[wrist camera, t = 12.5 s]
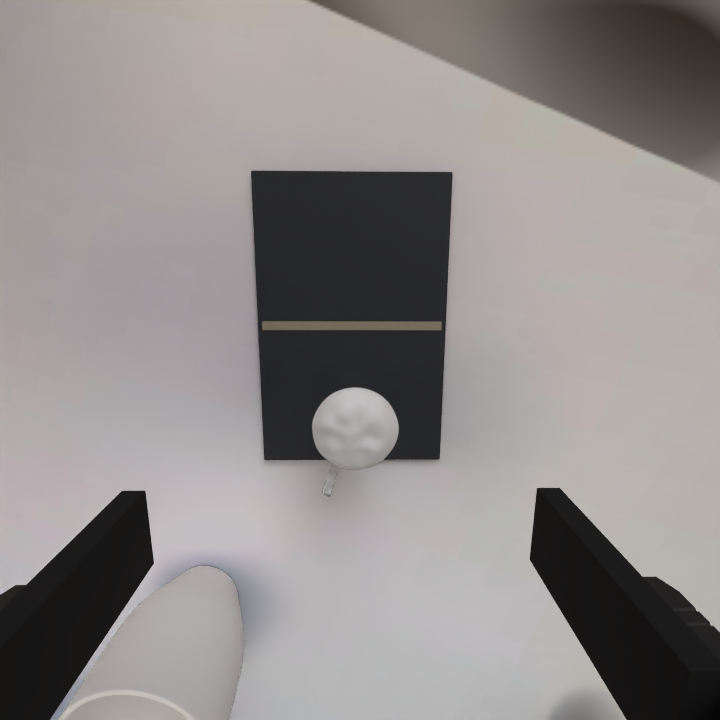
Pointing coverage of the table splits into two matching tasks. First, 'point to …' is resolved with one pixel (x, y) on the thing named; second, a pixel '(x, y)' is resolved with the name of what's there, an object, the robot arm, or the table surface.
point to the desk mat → (351, 298)
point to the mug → (170, 656)
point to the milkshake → (354, 424)
